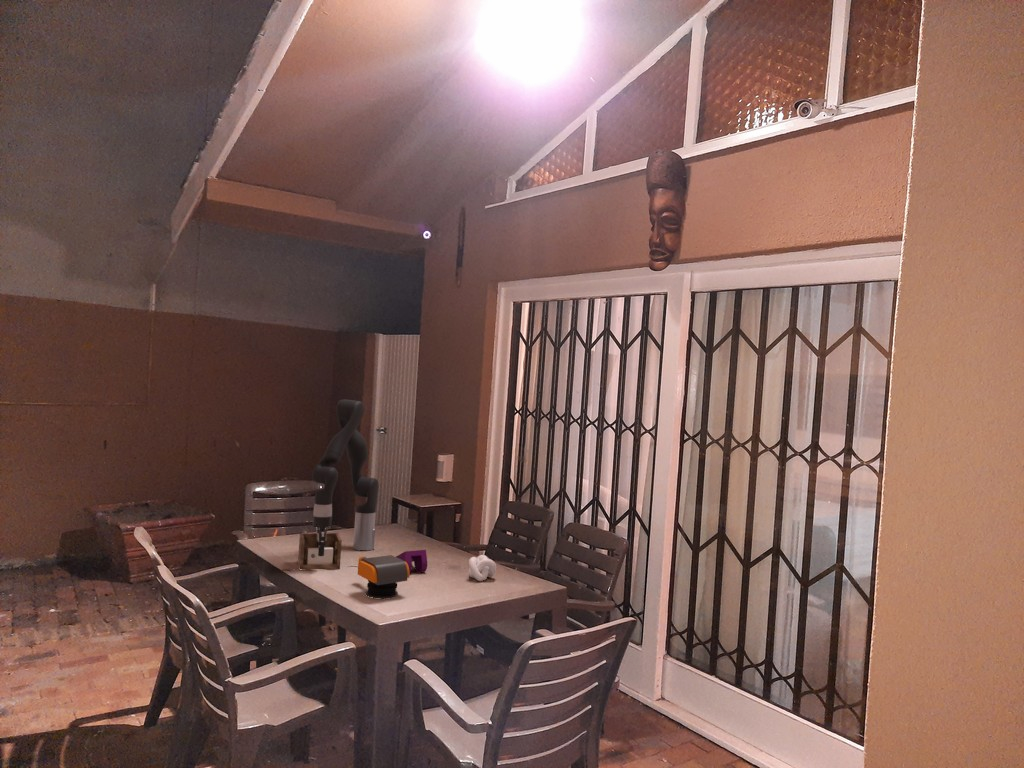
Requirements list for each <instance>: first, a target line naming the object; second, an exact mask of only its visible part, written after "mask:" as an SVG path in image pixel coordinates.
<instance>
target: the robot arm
mask: <svg viewBox="0 0 1024 768" xmlns="http://www.w3.org/2000/svg"><path fill="white" fill-rule="evenodd" d="M335 411H336V417H337V421H338V423H339V426H340V429H341V430H340V431H339V432H338V433H336V434H335V435H334V436H333V437H332V439H331V440H330V441H329V443H328V444H327V447H326V449H325V451H324V455H323V456H322V457H321V458H320V459H319V461H318V462H317V464H316V465H315V466H314V468H313V470H312V473H311V474H312V475H311V477H312V480H313V482H314V483H318V484H323V485H324V487H323V488H319V489H316V491H315V494H314V505H313V512H312V513H313V515H312V516H313V517H312V526H313V527H315V528H316V530H315V531H316V532H315V533H316V534H317V535H316V538H317V548H319V550H318V556H324V547H325V546H326V544H325V543H326V535H327V533H328V531H327V529H326V528H329V527H331V526H332V522H333V521H332V520H333V497H334V491H335V487H336V484H337V482H338V479H339V472H338V470H337V469H336V468H335V467H333V466H335V465H337V464H339V463H340V462H341V460H342V457H343V454H344V452H345V450H346V454H347V459H348V462H349V467H350V474H351V481H352V489H353V493H354V495H355V496H356V497H359V498H361V497H362V498H367V499H366V502H363V503H359V504H357V505H356V506H355V513H354V514H355V515H354V517H355V518H354V531H353V548H354V549H353V550H355V549H356V551H360V550H367V551H372V550H373V549H374V550H375V541H376V514H377V513H376V512H377V511H376V509H377V504H378V497H379V496H378V495H379V489H380V488H379V487H380V485H379V481H378V479H377V478H375V477H369V476H367V477H366V476H363V473H362V472H363V471H362V469H363V467H364V465H365V464H366V462H367V461H368V457H369V450H368V446H367V442H366V439H365V438H364V437H363V435H362V434H361V432H359V431H358V430H357V428H358V426H359V425H360V423H361V421H362V419H363V418H364V417H363V416H364V415H365V405H364V402H362V401H360V400H353V399H340V400H338V401H337V404H336V408H335ZM374 550H373V551H374Z"/></svg>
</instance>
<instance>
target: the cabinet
mask: <svg viewBox="0 0 1024 768" xmlns="http://www.w3.org/2000/svg"><path fill="white" fill-rule="evenodd" d="M316 535H317V534H316V532H300V533H299V541H298V542H299V544H298V555H297V557H298V560H297V563H298V562H299V563H298V568H300V569H326V570H340V569H341V557H342V556H341V555H342V542H343V541H342V537H341V535H340V533H339V532H327V535H326V543H325V544H326V546H325V547H324V548H329V547H333V562H332V564H307V553H308V548H317V538H316Z"/></svg>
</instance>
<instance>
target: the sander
mask: <svg viewBox="0 0 1024 768" xmlns="http://www.w3.org/2000/svg"><path fill="white" fill-rule="evenodd" d="M410 574H411V572H410V573H409V566H408V564H407V563H406V562H405V561H403V560H401V559H399V558H397V557H396V556H394V555H392V554H389V555H381V556H373V557H366V556H364V555H362V556H360V557H359V558H358V563H357V576H359V577H361V578H363V579H365V580H367V584H366V586H367V590H366V591H365V593H366V595H367V596H366V595H365V596H366V597H368V596H369V597H368V598H370V597H373V598H372V599H374V598H381V599H380V600H387V599H386V598H390V599H393V597H394V598H396V597H398V595H399V592H398V591H397V588H398V583H401V582H408V579H409V578H410ZM395 596H396V597H395ZM384 598H385V599H384Z"/></svg>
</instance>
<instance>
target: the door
mask: <svg viewBox="0 0 1024 768" xmlns="http://www.w3.org/2000/svg"><path fill="white" fill-rule="evenodd" d="M318 550H319V548H308V553H307V564H332V562H333V547H329V548H324V556H318Z"/></svg>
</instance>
